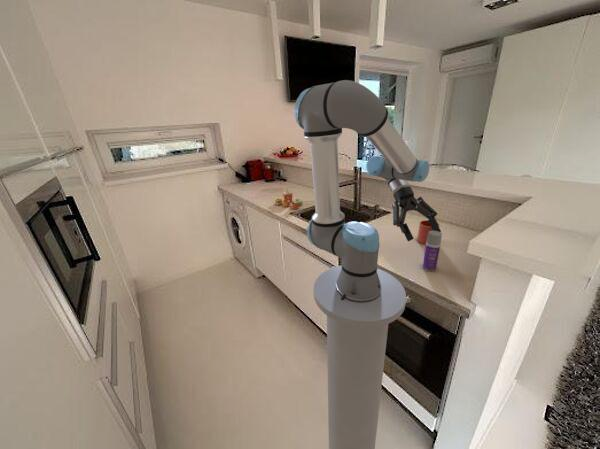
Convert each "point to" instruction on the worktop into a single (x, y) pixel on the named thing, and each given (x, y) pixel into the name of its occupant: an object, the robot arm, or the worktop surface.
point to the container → (432, 250)
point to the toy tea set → (288, 200)
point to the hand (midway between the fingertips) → (424, 236)
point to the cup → (424, 231)
